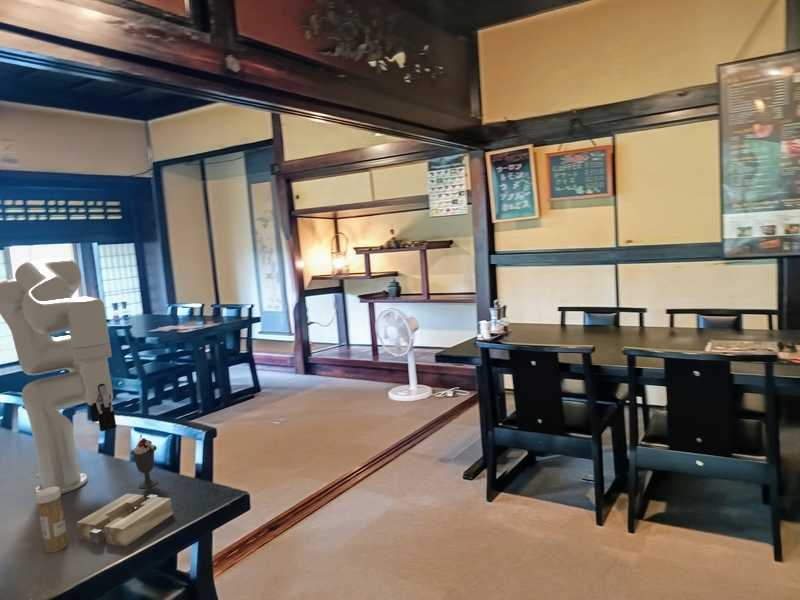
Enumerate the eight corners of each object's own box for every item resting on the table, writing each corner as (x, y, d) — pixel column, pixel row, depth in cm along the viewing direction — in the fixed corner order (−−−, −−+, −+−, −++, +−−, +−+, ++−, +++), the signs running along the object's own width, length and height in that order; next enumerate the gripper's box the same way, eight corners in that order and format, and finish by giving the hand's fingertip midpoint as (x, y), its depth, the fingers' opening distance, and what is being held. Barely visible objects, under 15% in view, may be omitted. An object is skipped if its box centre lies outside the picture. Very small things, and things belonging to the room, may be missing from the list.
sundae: (144, 492, 145) (136, 438, 143) (130, 487, 149) (122, 435, 147) (166, 481, 151) (159, 430, 149) (152, 477, 154) (144, 427, 153)
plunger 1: (90, 541, 120) (89, 531, 119) (116, 525, 126) (115, 516, 126) (98, 543, 119) (97, 532, 119) (124, 526, 125) (122, 517, 125)
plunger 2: (129, 517, 130) (128, 507, 129) (151, 503, 136) (150, 494, 136) (137, 518, 129) (135, 508, 128) (159, 504, 135) (157, 495, 135)
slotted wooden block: (79, 538, 123) (77, 522, 123) (129, 508, 136) (127, 493, 136) (125, 546, 118) (122, 529, 118) (172, 514, 131) (170, 498, 131)
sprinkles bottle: (69, 548, 120) (59, 490, 118) (45, 556, 117) (34, 497, 116) (68, 539, 124) (59, 483, 122) (45, 547, 121) (35, 490, 120)
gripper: (68, 351, 127) (79, 421, 129) (80, 360, 114) (92, 438, 116) (103, 345, 132) (113, 413, 134) (118, 353, 119) (130, 428, 121)
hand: (104, 424), depth 125 cm, fingers open, 9 cm apart
